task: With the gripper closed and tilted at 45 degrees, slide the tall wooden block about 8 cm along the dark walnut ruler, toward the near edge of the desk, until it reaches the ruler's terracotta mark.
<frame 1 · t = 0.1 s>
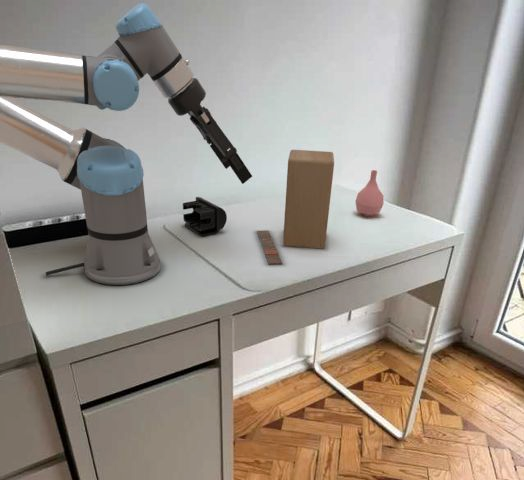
hand: (238, 172, 115), 15 cm above the table, tool tilted 35°, fingers open, 13 cm apart
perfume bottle: (367, 215, 141), on the table
wooden block: (304, 241, 123), on the table
end cap: (204, 229, 127), on the table
ruler: (268, 247, 118), on the table
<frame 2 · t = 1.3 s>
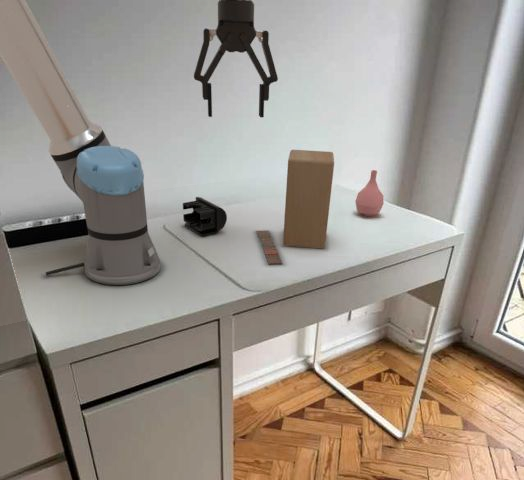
hand: (235, 116, 114), 26 cm above the table, tool pointing down, fingers open, 11 cm apart
nothing on the table moved.
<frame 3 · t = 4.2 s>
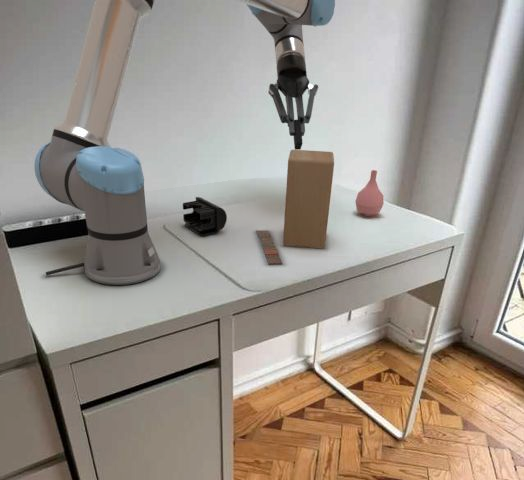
hand: (298, 146, 125), 19 cm above the table, tool tilted 45°, fingers closed
nothing on the table moved.
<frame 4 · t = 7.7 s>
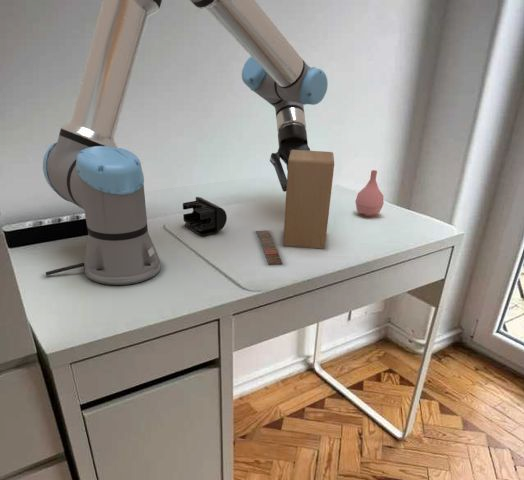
hand: (300, 215, 126), 4 cm above the table, tool tilted 45°, fingers closed
wooden block: (304, 241, 123), on the table, touching gripper
everything else where it was.
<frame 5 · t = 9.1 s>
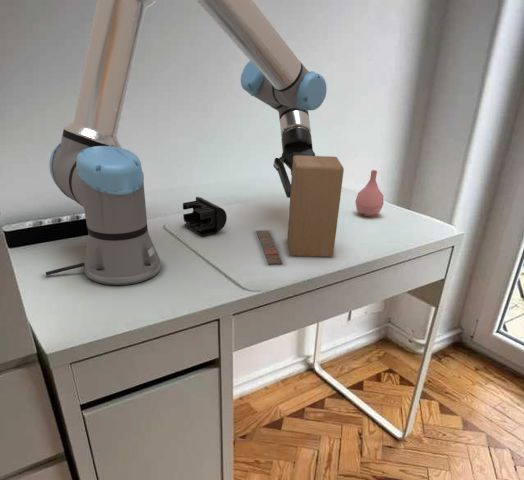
hand: (305, 222, 121), 4 cm above the table, tool tilted 45°, fingers closed
wooden block: (309, 249, 118), on the table, touching gripper
everything else where it was.
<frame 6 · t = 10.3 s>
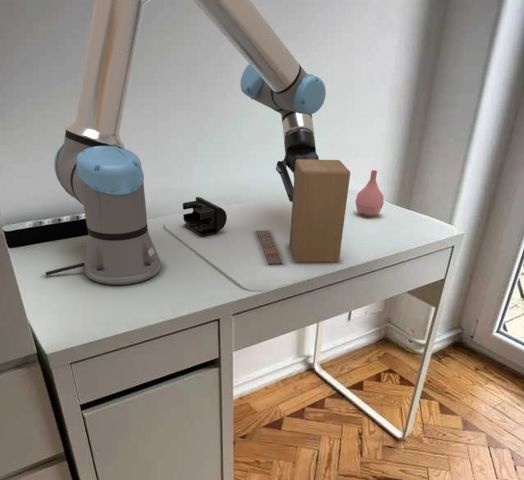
hand: (308, 227, 118), 4 cm above the table, tool tilted 45°, fingers closed
wooden block: (313, 255, 116), on the table, touching gripper
everything else where it was.
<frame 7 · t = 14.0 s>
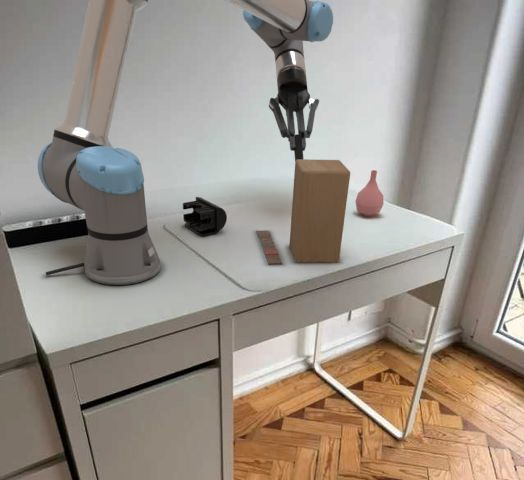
hand: (299, 161, 123), 16 cm above the table, tool tilted 45°, fingers closed
wooden block: (313, 255, 116), on the table
everything else where it was.
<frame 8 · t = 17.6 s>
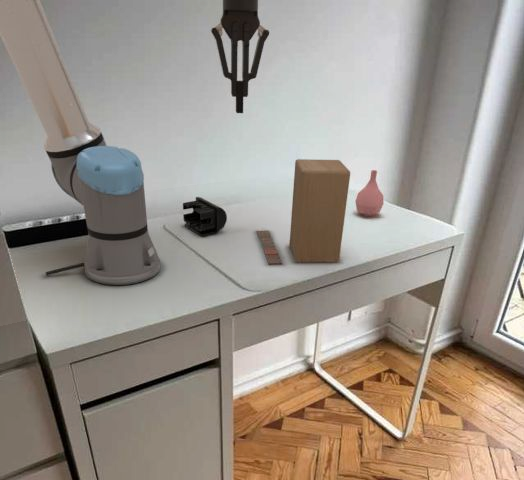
hand: (239, 112, 118), 26 cm above the table, tool pointing down, fingers closed
nothing on the table moved.
at the end: wooden block inside the target area (0.7 cm from its centre), on the table; wooden block tilted 0°; wooden block moved 8.8 cm from its start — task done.
